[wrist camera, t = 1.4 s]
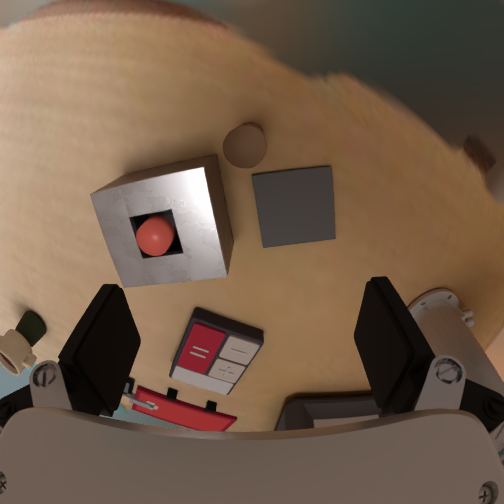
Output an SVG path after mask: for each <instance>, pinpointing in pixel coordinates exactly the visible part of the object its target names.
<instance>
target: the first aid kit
mask: <svg viewBox="0 0 504 504" xmlns="http://www.w3.org/2000/svg"><path fill="white" fill-rule="evenodd" d="M391 415H395V414H394V413H390V414H386V415H383V412H382V409H381V408H378V407H377V405H376V402H375V399H374V396H373V394H368V395H355V396H337V397H294V398H293V399H292V400H291V401H290V402H289V403H287V404H286V405H285V406H284V409H283V412H282V414H281V417H280V420H279V422H278V425H277V428H276V430H275V431H286V430H300V429H311V428H320V427H328V426H335V425H342V424H348V423H355V422H361V421H366V420H372V419H377V418H382V417H387V416H391Z"/></svg>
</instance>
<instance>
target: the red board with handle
mask: <svg viewBox="0 0 504 504" xmlns="http://www.w3.org/2000/svg"><path fill="white" fill-rule="evenodd" d="M134 382H135V381H132V380H130V379H128V380H127V383H126V386H125V389H124V392H123V395H124V396H126V397H129V398H130V402H132V403H133V406H132V409H133V410H136V411H139V412H141V413H144V414H147V415H150V416H152V417H155V418H158V419H161V420H164V421H168V422H170V423H174V424H177V425H180V426H184V427H187V428H191V429H194V430H199V431H219V432H224V431H225V430H226V429H228V428H229V427H230V426H231V425H232V424H233V423H234V422H235V421H236V420H237V417H235V416H231V415H227V414H224V413H220V412H216V406H217V403H216V402H212V401H209V400H208V401H207V405H206V408H202V407H199V406H196V405H193V404H189V403H186V402H183V401H180V400H177V399H176V397H177V392H178V390H175V389H172V388H170V387H169V389H168V392H167V396H165V395H162V394H159V393H157V392H154V391H151V390H149V389H146V388H143V387H141V386H138V388H137V391H136V394H134V393H132V390H133V386H134Z"/></svg>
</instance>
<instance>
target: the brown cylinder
mask: <svg viewBox="0 0 504 504" xmlns="http://www.w3.org/2000/svg"><path fill="white" fill-rule="evenodd" d="M266 150H267V144H266V140H265V136H264V132H263V130H262V128H261V127H260V126H259V125H258V124H256V123H252V122H248V123H245V124H243V125H241V126H239V127H237V128H235V129H233V130H232V131H231V132H229V133H228V135H227V136H226V138H225V140H224V143H223V152H224V155H225V157H226V159H227V160H228V161H229V162H230V163H231V164H232V165H234V166H236V167H239V168H251V167H254V166H256V165H257V164H259V163H260V162H261V161H262V160H263V158H264V157H265V154H266Z"/></svg>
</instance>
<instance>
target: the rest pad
mask: <svg viewBox="0 0 504 504" xmlns="http://www.w3.org/2000/svg"><path fill="white" fill-rule="evenodd" d="M252 180H253V186H254V192H255V199H256V205H257V211H258V218H259V224H260V230H261V237H262V243H263V248H267V247H275V246H283V245H291V244H299V243H307V242H315V241H323V240H331V239H335V212H334V194H333V179H332V167H331V166H322V167H312V168H303V169H294V170H285V171H277V172H269V173H262V174H254V175H252Z"/></svg>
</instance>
